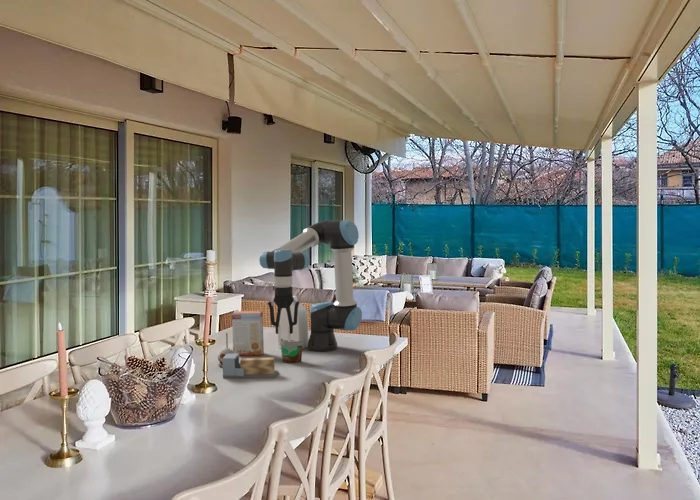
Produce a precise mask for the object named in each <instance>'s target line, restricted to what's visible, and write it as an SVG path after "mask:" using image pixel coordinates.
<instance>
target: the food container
mask: <svg viewBox="0 0 700 500" xmlns="http://www.w3.org/2000/svg"><path fill="white" fill-rule="evenodd" d="M278 345H281V349H280V350H281V359H282V363H285V364H296V363H297V364H298V363H301V362H302V359H303V357H302V356H303V349H302V346H303V345H304V343H303V340H302V341H297V342H296V341H293V340H291V341H290V342H288V341H286V340H283V338H282V339H281V341H280V343H279V342H278Z"/></svg>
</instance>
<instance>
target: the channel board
mask: <svg viewBox="0 0 700 500" xmlns="http://www.w3.org/2000/svg"><path fill="white" fill-rule="evenodd" d="M278 374H279V370H278V369H277V370H276V369H275V372H274V374H245V375H244V369H241V367H240V355H239V354H227V355H225V356H224V357H223V367H222V379H276V378H277V376H278Z"/></svg>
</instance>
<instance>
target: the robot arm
mask: <svg viewBox="0 0 700 500" xmlns="http://www.w3.org/2000/svg"><path fill="white" fill-rule="evenodd" d="M358 241H359V231H358V226H357V225H356V224H355V223H354V222H353V220H346V219H345V220H344V219H343V220H341V219H339V220H338V219H337V220H322V221H319V222H316V223H313V224H312V225H309V226H307V227H306V228H304V229H303V230H302V233H300V234H299V235H297V236H295V237H294V238H292V239H290V240H289V241H287V242H285V243H284V244H282V245H279V247H277V248H275V249H273V250H271V251H264V252H262V253H260V255H259V259H258V260H259V265H260V267H261V268H263V269H267V270H274V271H273V272H274V275H273V276H274V277H273V278H274V279H273V281H274V282H273V283H274V298H273V299H272V300H269V301H268V302H267V304H268V307H269V314H270V315H269V316H270V317H269V318H270V324H271V326H274V327H275V334H276V335H277V338H278V339H277V342H278V343H279V342H280V341H281V326H279V321H280V315H281V310H282V309H283V308H286V311H287V316H288V321H289V326H288V342H290V341H291V338H290V334H292V333H293V325H296V324H297V316H298V305H299V303H301V302H300V300H298V301H296V300H294V298H293V296H294V295H293V293H294V292H293V271H302V270H304V269H306V268H308V267H309V265H310V257H309V254H307V253H306V252H304V251H306V250H307V249H309V248H311V247H313V248H314V247H316V246H318V245H330V247H329V248H330V250H331V251H332V252H333V262H334V265H333V266H334V284H335V285H334V286H335V300H334V302H333V301H325V302H324V301H323V302H317V303H314V304H311V306H310V310H309V311H310V313H309V314H310V336H309V337H308V339H309V341H308V346H307V349H308V350H309V351H314V352H331V351H334V350H337V349H338V342H337V339H336V336H335V332H334V330H340V331H341V330H343V331H345V332H346V331H347V332H348V331H355V330H357V329H358V328H359V327H360V325H361V322H362V317H363V312H362V309H361V307H358V304H357V301H356V300H355V299H354V286H353V285H354V283H353V281H354V280H353V278H354V277H353V263H352V262H353V261H352V260H353V258H352V256H353V255H352V250H354V249H355V245H356V244H357V243H358ZM292 303H294V306H295V307H294V322H292V316H291V311H290V305H291V304H292ZM274 305H276V306H277V310H276V311H277V312H276V316H275V312H274V311H275V309H274ZM275 317H276V318H275Z"/></svg>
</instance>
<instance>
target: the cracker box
mask: <svg viewBox="0 0 700 500" xmlns="http://www.w3.org/2000/svg"><path fill="white" fill-rule="evenodd" d="M231 316H232V318H231V319H232V320H231V321H232V323H231V324H232V325H231V326H232V350H233V351H234V352H235V354H239V356H258V357H260V356H262V355H264V353H265V352H264V351H265V347H264V346H265V345H264V343H265V342H264V311H262V310H261V311H260V310H259V311H257V310H254V311H250V310H249V311H248V310H243V311H242V310H241V311H239V310H237V311H233V312H232V313H231Z"/></svg>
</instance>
